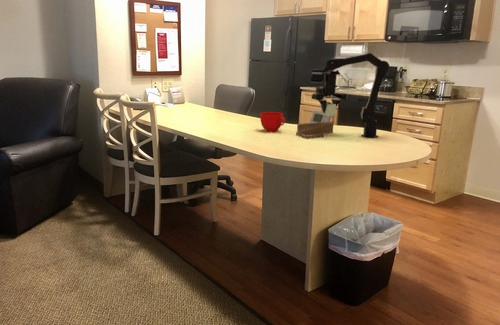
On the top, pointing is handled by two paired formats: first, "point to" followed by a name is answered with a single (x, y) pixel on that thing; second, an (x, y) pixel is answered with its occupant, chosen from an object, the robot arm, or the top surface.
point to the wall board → (314, 129)
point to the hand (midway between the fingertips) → (328, 112)
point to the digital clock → (319, 117)
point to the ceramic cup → (271, 120)
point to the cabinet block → (329, 109)
